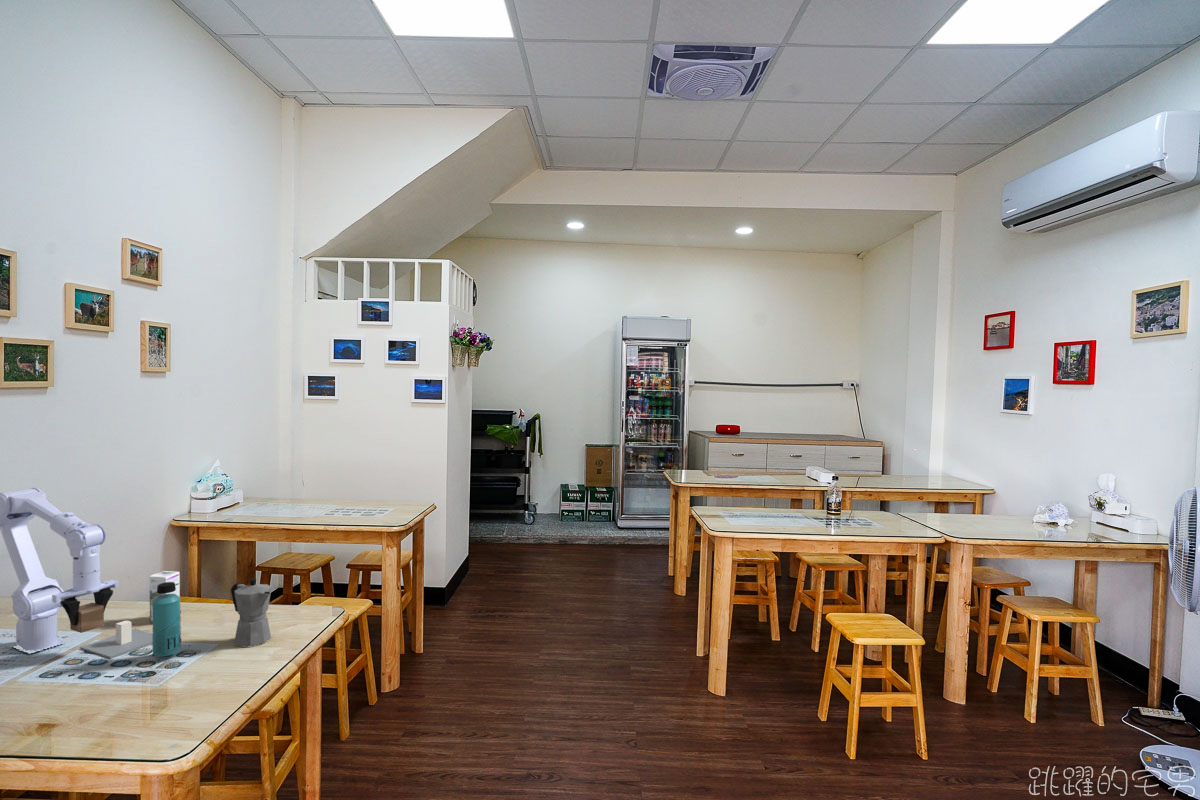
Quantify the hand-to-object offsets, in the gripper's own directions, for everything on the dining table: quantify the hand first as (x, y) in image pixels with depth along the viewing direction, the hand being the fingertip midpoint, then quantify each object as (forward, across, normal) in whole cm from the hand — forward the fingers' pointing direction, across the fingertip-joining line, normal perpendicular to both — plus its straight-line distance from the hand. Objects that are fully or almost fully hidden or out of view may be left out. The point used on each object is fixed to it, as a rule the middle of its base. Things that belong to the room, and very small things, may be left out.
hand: (86, 621), depth 168 cm
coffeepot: (+9, +25, -30) cm, 41 cm away
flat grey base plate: (+9, +8, -2) cm, 12 cm away
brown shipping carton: (+2, 0, 0) cm, 2 cm away
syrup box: (+9, +24, +6) cm, 26 cm away
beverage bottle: (+9, +8, -21) cm, 24 cm away
